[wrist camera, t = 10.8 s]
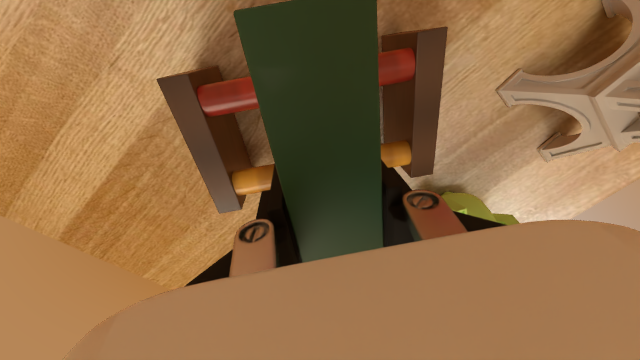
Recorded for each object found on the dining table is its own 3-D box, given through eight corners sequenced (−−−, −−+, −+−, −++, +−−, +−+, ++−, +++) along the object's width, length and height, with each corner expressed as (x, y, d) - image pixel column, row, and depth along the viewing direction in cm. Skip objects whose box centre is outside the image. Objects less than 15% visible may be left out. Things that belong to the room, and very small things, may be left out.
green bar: (256, 25, 9) (231, 10, 5) (343, 10, 9) (376, -16, 5) (317, 277, 15) (324, 343, 12) (365, 268, 16) (386, 331, 12)
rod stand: (196, 69, 21) (155, 78, 15) (403, 32, 21) (448, 26, 15) (236, 174, 27) (219, 213, 21) (400, 144, 27) (433, 174, 21)
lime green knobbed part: (490, 196, 32) (561, 249, 24) (439, 254, 37) (483, 316, 28) (421, 168, 29) (474, 219, 20) (375, 236, 34) (402, 300, 25)
